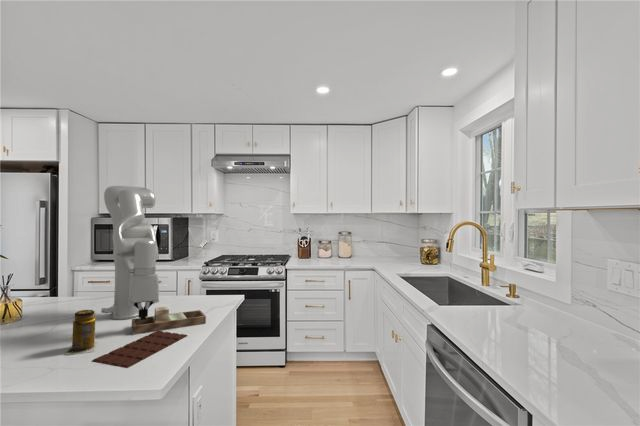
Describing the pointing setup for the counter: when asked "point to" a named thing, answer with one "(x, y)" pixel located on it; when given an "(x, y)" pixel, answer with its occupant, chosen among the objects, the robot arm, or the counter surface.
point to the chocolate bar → (139, 349)
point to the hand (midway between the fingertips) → (143, 318)
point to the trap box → (168, 322)
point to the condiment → (83, 333)
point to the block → (161, 313)
